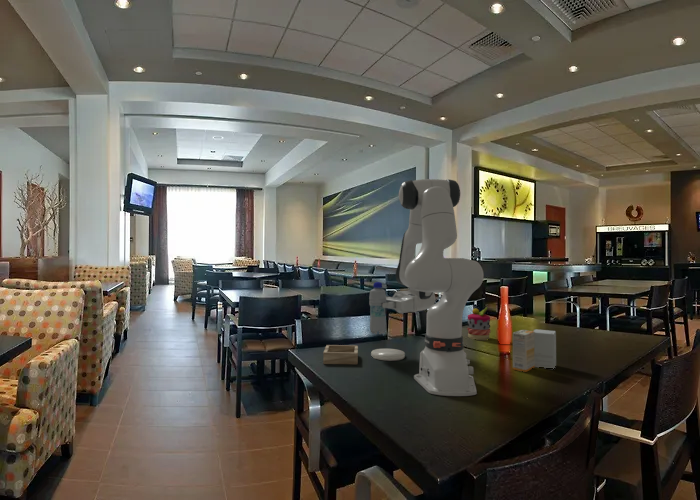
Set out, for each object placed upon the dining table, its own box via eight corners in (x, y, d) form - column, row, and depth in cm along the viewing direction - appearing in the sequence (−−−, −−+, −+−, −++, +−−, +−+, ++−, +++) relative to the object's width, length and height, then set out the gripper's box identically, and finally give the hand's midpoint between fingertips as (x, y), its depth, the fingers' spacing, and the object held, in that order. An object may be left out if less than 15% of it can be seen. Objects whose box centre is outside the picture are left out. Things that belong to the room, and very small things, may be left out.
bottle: (389, 332, 158) (388, 281, 159) (383, 335, 152) (382, 282, 153) (373, 331, 161) (372, 281, 162) (366, 334, 155) (366, 282, 155)
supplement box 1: (521, 365, 147) (521, 329, 147) (535, 368, 143) (535, 331, 143) (511, 369, 141) (512, 332, 141) (525, 372, 137) (525, 334, 137)
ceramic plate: (406, 361, 151) (406, 357, 151) (371, 360, 151) (371, 356, 151) (402, 352, 164) (402, 348, 164) (370, 351, 164) (370, 348, 164)
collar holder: (357, 364, 145) (357, 353, 145) (323, 363, 146) (323, 352, 146) (357, 355, 158) (357, 345, 158) (326, 355, 158) (326, 344, 158)
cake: (468, 340, 189) (469, 308, 189) (466, 335, 199) (466, 305, 199) (492, 341, 187) (492, 308, 187) (488, 336, 197) (488, 305, 197)
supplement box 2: (556, 365, 147) (556, 330, 147) (554, 370, 141) (554, 334, 141) (534, 362, 151) (534, 328, 151) (531, 366, 145) (531, 331, 145)
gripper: (385, 292, 173) (360, 294, 165) (420, 296, 156) (393, 298, 148) (386, 306, 173) (360, 309, 165) (420, 312, 156) (393, 315, 148)
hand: (376, 304), depth 156 cm, fingers closed on bottle, 6 cm apart
